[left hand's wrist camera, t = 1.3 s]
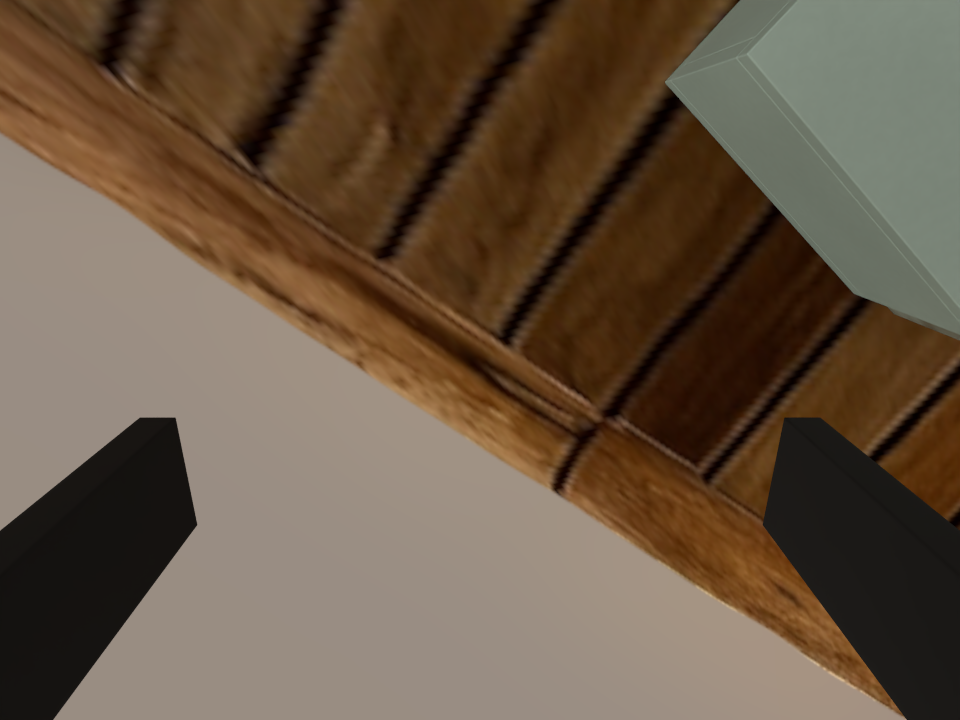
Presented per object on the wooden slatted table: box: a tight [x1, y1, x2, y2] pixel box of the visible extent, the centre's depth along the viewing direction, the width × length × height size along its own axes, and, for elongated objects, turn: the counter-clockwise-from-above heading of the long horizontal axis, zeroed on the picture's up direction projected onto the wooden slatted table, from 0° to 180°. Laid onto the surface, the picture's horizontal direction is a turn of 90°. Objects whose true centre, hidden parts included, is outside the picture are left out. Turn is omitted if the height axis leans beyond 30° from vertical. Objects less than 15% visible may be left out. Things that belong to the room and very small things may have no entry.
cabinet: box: [665, 0, 960, 335], centre depth 27 cm, size 17×10×10 cm, turn 48°
